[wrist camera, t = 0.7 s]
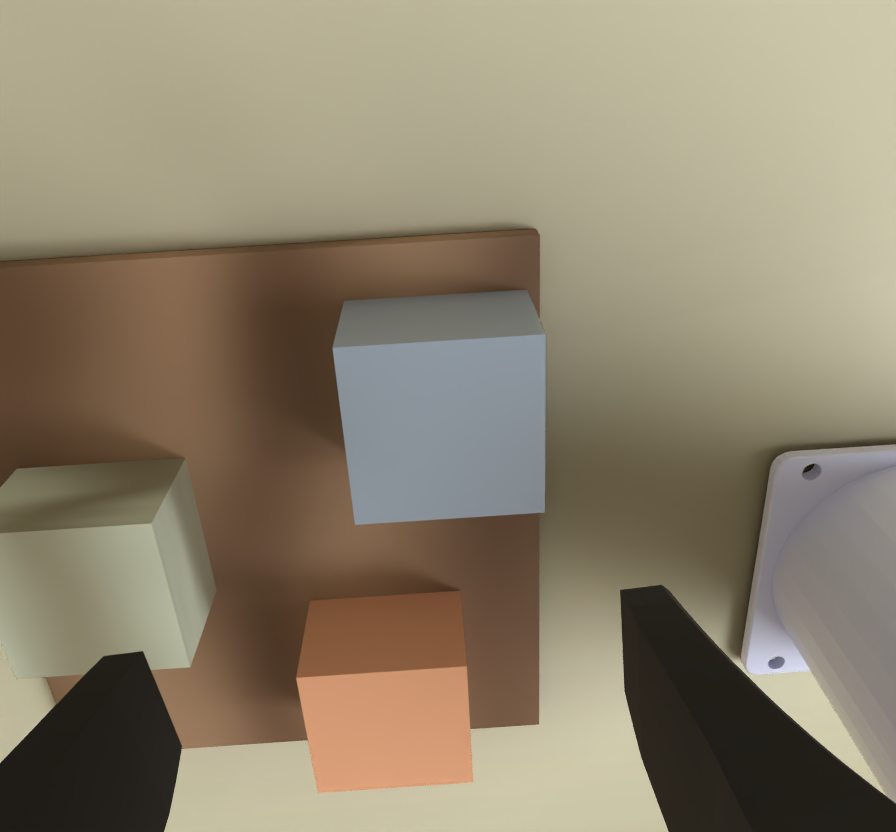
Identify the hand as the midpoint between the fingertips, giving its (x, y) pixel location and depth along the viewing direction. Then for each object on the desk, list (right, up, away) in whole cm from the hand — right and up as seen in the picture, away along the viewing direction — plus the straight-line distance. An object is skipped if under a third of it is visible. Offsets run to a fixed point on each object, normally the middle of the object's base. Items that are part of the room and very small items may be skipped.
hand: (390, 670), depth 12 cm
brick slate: (+1, +5, +8) cm, 9 cm away
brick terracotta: (-1, -3, +12) cm, 13 cm away
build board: (-4, +1, +10) cm, 11 cm away
